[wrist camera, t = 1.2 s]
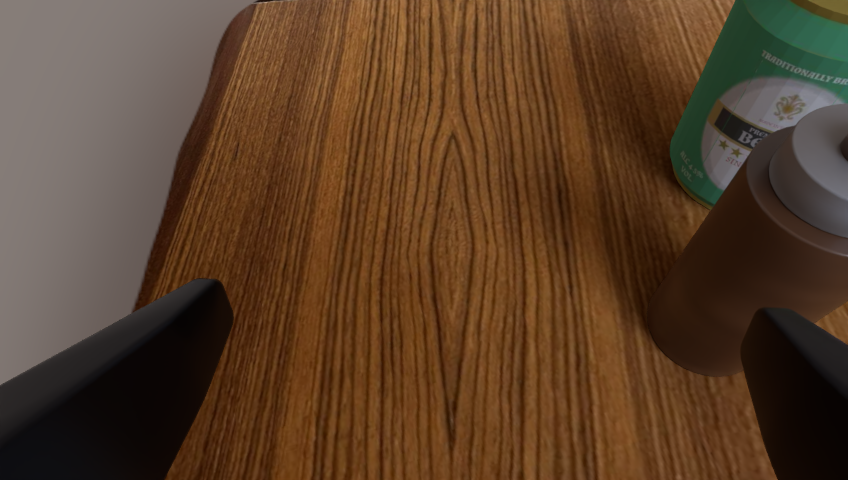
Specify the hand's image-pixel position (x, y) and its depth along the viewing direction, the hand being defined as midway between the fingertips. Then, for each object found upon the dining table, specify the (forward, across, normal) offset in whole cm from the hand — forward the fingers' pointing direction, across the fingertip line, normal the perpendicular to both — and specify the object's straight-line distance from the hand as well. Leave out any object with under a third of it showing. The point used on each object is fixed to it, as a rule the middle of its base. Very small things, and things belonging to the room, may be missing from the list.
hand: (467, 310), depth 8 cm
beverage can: (+22, -14, +8) cm, 28 cm away
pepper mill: (+13, -11, +12) cm, 21 cm away
